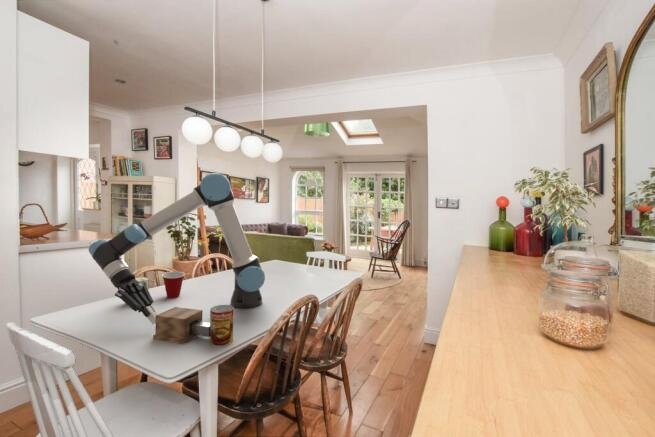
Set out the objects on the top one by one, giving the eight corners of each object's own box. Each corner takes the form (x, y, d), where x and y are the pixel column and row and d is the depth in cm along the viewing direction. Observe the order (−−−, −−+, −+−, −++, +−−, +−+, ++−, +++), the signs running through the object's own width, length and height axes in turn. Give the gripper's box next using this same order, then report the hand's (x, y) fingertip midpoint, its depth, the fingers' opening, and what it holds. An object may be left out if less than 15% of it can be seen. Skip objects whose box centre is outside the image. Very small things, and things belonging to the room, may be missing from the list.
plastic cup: (160, 300, 157) (160, 276, 157) (162, 294, 167) (162, 272, 167) (184, 298, 162) (184, 275, 161) (184, 293, 171) (185, 271, 171)
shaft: (158, 332, 116) (158, 319, 116) (167, 327, 121) (167, 315, 120) (207, 339, 111) (208, 326, 111) (215, 334, 116) (216, 321, 116)
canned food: (208, 347, 108) (208, 312, 107) (211, 337, 116) (212, 305, 115) (232, 345, 110) (232, 311, 109) (234, 336, 117) (234, 304, 117)
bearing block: (153, 339, 113) (153, 315, 113) (174, 327, 124) (175, 306, 123) (184, 343, 110) (184, 319, 110) (204, 331, 121) (204, 309, 120)
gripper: (128, 276, 129) (162, 321, 126) (98, 284, 116) (136, 334, 113) (139, 264, 128) (174, 310, 124) (110, 271, 115) (148, 321, 112)
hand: (156, 321), depth 119 cm, fingers closed
